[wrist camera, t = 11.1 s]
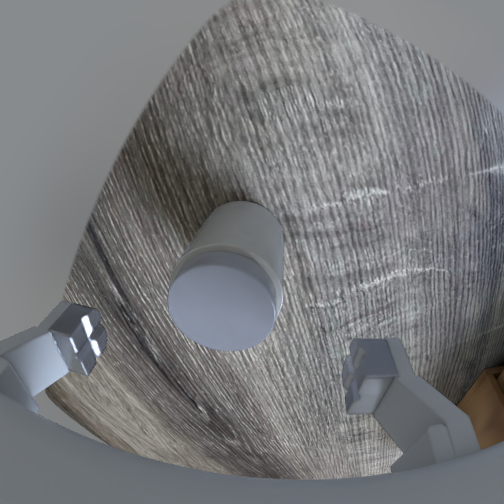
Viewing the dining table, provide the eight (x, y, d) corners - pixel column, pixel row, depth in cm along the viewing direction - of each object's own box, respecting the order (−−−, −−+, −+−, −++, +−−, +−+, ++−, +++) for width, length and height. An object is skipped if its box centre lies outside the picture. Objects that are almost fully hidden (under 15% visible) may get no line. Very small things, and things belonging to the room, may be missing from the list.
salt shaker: (200, 197, 13) (153, 252, 8) (287, 204, 13) (290, 264, 8) (202, 272, 15) (168, 347, 10) (280, 279, 15) (276, 361, 10)
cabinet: (484, 368, 17) (518, 447, 10) (550, 353, 16) (581, 408, 9) (415, 448, 24) (426, 509, 16) (487, 430, 23) (502, 479, 15)
